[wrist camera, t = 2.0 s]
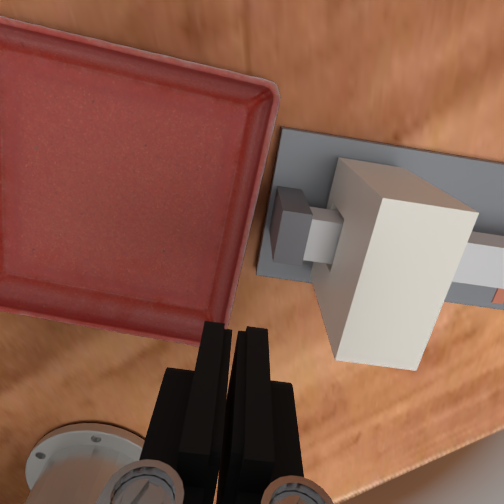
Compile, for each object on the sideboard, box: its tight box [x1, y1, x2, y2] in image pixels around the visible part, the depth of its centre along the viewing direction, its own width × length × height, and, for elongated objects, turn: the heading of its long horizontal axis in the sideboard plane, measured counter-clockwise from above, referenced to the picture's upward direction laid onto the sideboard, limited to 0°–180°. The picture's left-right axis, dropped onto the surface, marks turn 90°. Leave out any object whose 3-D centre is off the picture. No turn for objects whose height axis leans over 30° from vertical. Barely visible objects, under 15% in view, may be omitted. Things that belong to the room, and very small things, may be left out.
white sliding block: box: [310, 157, 479, 371], centre depth 22 cm, size 8×4×9 cm, turn 171°
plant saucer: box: [0, 16, 280, 347], centre depth 26 cm, size 18×18×3 cm
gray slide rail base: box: [256, 126, 504, 310], centre depth 25 cm, size 10×23×6 cm, turn 81°
